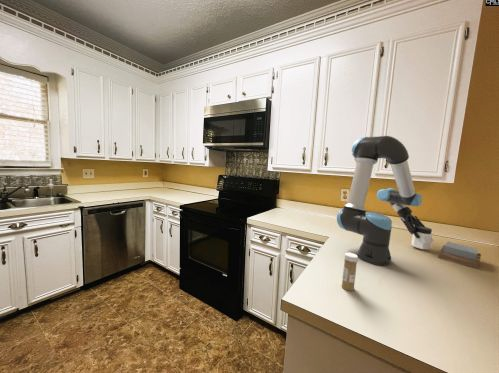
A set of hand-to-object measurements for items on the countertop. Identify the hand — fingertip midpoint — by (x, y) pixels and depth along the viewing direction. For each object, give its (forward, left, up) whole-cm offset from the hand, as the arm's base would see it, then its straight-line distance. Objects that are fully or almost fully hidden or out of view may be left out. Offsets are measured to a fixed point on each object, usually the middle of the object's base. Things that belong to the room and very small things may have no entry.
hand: (427, 242), depth 124 cm
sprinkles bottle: (-63, -48, -6) cm, 79 cm away
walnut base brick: (+10, -9, -5) cm, 15 cm away
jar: (-2, +3, -4) cm, 6 cm away
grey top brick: (+10, -9, -2) cm, 14 cm away
